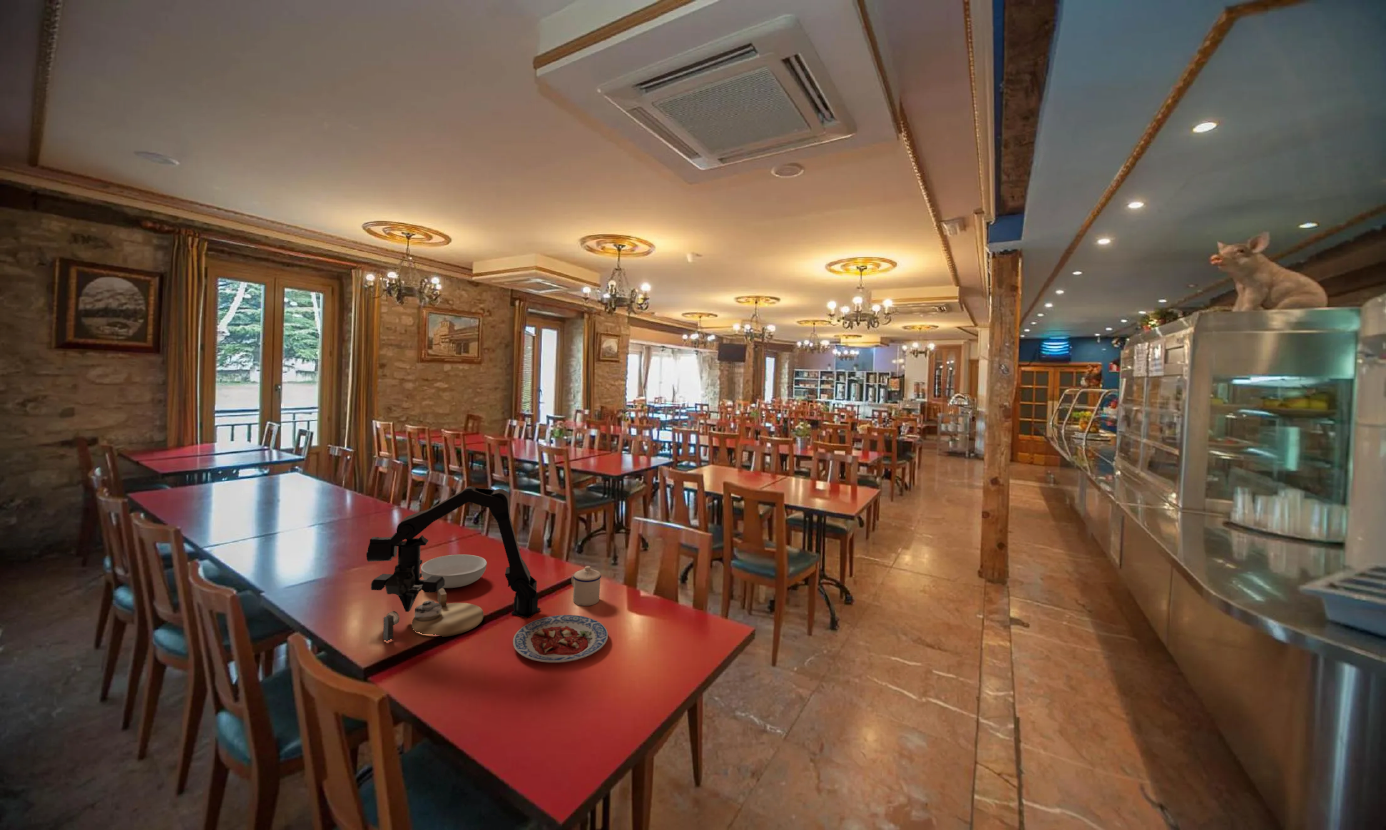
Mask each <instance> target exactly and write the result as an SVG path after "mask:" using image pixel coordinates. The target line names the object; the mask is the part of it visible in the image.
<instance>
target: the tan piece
mask: <svg viewBox="0 0 1386 830" xmlns="http://www.w3.org/2000/svg"><path fill="white" fill-rule="evenodd" d="M447 595H448V594H447V592H446V590H445V588H441V589H439V590H438V591H437V601H436V602H437V603H439V604H441V605H442V611H441V616H440V617H439V618H437V619H435V620H432V621H426V622H421V621H417V620H415V616H414V617H413V619H412V622H411V629H412V628H413V629H414V631H416V632H420V633H422V634H433V635H435V634H436V635H440V636H442V637H441V638H444V637H451V636H452V637H453V636H456V635H461V634H463V633H466V632H468V631H471V630H473V629H475V628H476V627H477V626H478V625H480V624H481V623H482V621H483V620H484V610H483V609H482V607H480V606H479V605H476V604H473V603H469V602H468V603H467V602H452V603H451V602H450V603H447V597H448V596H447ZM413 629H412V630H413ZM414 631H413V632H414Z"/></svg>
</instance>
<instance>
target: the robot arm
mask: <svg viewBox="0 0 1386 830" xmlns="http://www.w3.org/2000/svg"><path fill="white" fill-rule="evenodd" d="M510 500H511V499H510V495H509V492H508V490H505V489H503V488H496V489H493V488H492V489H491V488H484V487H483V488H482V487H474V486H470V485H469V486H466V487H464V488H463V490H460V491H459V492H457V493H455V494H454V495H451V496H450V497H448V498H446V499H445V500H442V501H441V502H439V503H437V504H435V505H434V506H432V507H430V508H428V509H426V510H422V511H417V512H414V513H413V514H410V515H407V516H405V518H403V519H402V520H401V521H400V523H399V524H398V525H397V527H396V532H394V534H393V535H392V536H388V537H386V536H384V537H383V536H382V537H379V536H372V537H371V538H370V539H369V544H368V546H367V551H366V560H367V562H368V563H369V562H389V561H392V560H393V558H396V557H397V564H396V565H395V566H394V571H393V573H392V574H391V573H382V574H380V575H378V576H377V577H375V578H374V579H373V580H372V581H371V583H370V590H371V591H382V590H383V589H385V591H386V594H387V595H396V596H397V597H398V598H399V600H400V602H401V604H402V607H403V610H404V611H405V612H406V613H409V612H410V611H411V609H412V607H413V606H414V603H415V601H416V599H417V596H418V594H419V593H420V592H423V593H428V594H429V593H432V594H435V593H438V590H439V589H441V588H442V587H443V586H444V585H445V580H444V578H443V577H441V576H431V577H429V578H428V579H427V580H424V578H423V576H422V573H421V565H423V559H421V547H423V546H426V545H427V544H428V543H429V539H428V538H426V537H425V536H424V535H423V534H422V535H420V534H421V533H422V532H423V531H425V530H426V529H427V528H428V527H429V526H430V525H431V524H432V523H434V522H436V521H437V520H440V519H441V518H443V517H445V516H446V515H448V514H450V513H452V512H454V511H455V510H457V509H459V508H460V507H462V506H464V505H467V504H468V503H472V504H475V505H478V506H481V507H484V508H488V509H489V511H490V513H491V516H492V517H493V518H494V520H495V521H496V523H497V525H498V530H499V533H500V537H501V539H502V540H501V541H502V543H503V546H504V550H505V555H506V558H507V561H508V562H507V563H508V566H506V567H505V572H504V576H505V579H506V581H507V588H508V587H510V589H511V590H512V592H515V593H514V594H515V595H514V597H513V611H511V613H510V614H511V615H513V616H519V617H521V618H526V619H529V618H530V617H533V616H534V615H536V614H537V613H538V612H540V611H541V608H540V607H538V606H539V605H538V604H539V592H537V589H538V588H537V587H538V584H537V583H538V581H537V580H536V579H535V578H534V577H533V576H532V575H531V572H530V570H529V568H528V565H527V564H526V562H525V561H524V559H523V557H522V554H521V551H520V547H519V543H518V540H517V536H516V532H515V528H514V524H513V521H512V518H511V503H510V502H511V501H510ZM418 535H420V536H419V537H417V536H418ZM415 537H416V538H415ZM420 578H423V579H420Z"/></svg>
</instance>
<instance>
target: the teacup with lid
mask: <svg viewBox="0 0 1386 830" xmlns="http://www.w3.org/2000/svg"><path fill="white" fill-rule="evenodd" d="M601 579H602V574H601V572H600V571H599V570H595V569H593V568H591V566H590V565H586V566H585V567H584V568H582V569H580V570H578V571H575V572H574V574H573V575H572V576H571V586H572V588H573V592H572V593H573V594H572V595H573V597H572V600H573V603H574V604H575V605H578V606H584V607H588V606H589V607H591V606H593V605H596V604H597V603H599V600H600V594H601V593H600V592H601V590H600V589H601V587H600V586H601Z"/></svg>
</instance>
